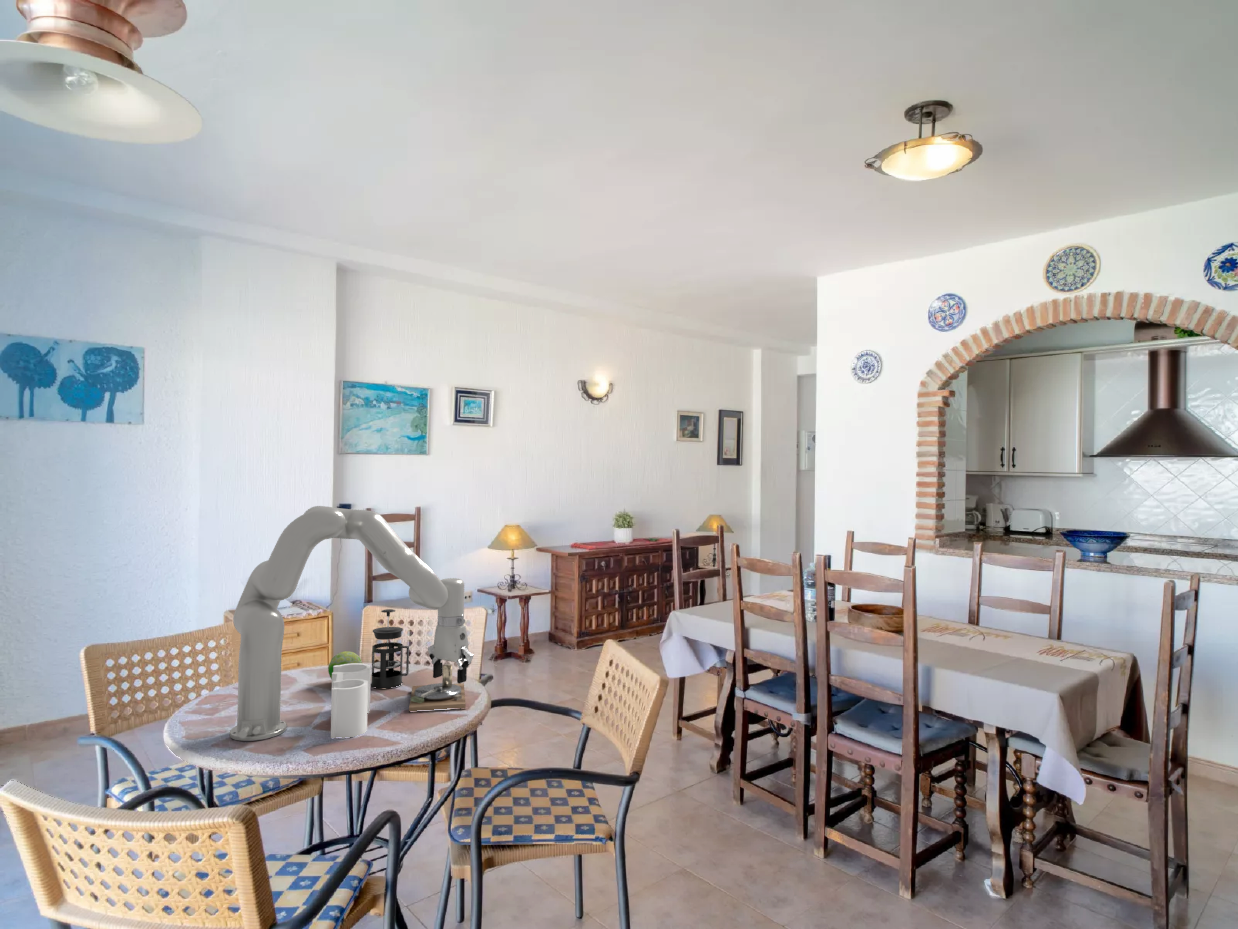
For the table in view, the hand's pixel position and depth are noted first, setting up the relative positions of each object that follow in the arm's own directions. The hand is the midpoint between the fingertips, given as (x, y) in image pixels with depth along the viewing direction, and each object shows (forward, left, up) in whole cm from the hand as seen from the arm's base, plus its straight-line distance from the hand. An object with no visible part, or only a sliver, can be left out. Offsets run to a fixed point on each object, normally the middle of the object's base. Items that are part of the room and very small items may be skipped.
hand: (449, 679), depth 206 cm
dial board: (-3, +3, -5) cm, 7 cm away
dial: (-3, +3, -3) cm, 6 cm away
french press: (+15, +18, -5) cm, 24 cm away
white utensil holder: (-17, +25, -5) cm, 31 cm away
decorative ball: (+18, +31, -5) cm, 36 cm away
